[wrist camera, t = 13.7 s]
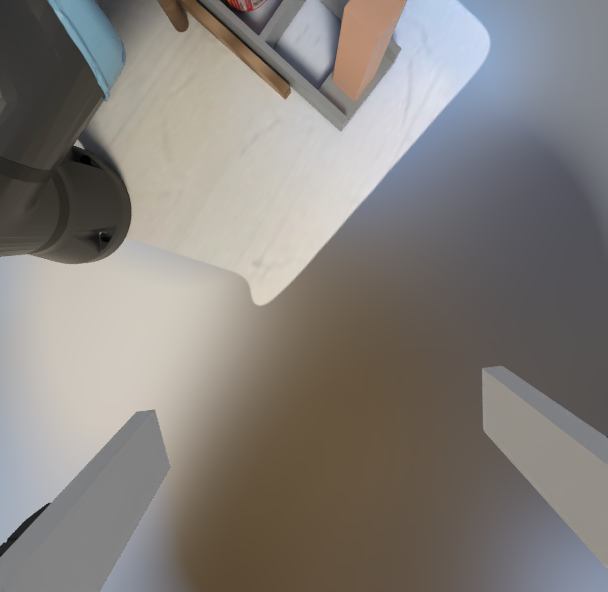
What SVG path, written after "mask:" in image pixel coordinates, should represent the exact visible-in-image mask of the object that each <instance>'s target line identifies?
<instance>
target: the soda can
mask: <svg viewBox="0 0 608 592" xmlns="http://www.w3.org/2000/svg"><path fill="white" fill-rule="evenodd" d="M224 1H225V2H226V3H227V4H228V5H229V6H230V7H232V8H234V9H236V10H239V11H244V12H245V11H252V10H255V9H257V8H259V7H260V6H262V5H263V4H264V3H265V1H266V0H224Z"/></svg>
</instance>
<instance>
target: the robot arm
mask: <svg viewBox="0 0 608 592" xmlns="http://www.w3.org/2000/svg"><path fill="white" fill-rule="evenodd" d="M125 61H126V54H125V49H124V45H123V43H122V41H121V38H120V36H119V34H118V33H117V31H116V29H115V28H114V26H113V25H112V23H111V22H110V20H109V19H108V18H107V16H106V15H105V13H104V12H103V11H102V9H101V8H100V7H99V5H98V4H97V3H96V1H95V0H0V257H1V256H11V255H21V254H30V255H33V256H37V257H41V258H44V259H48V260H52V261H55V262H60V263H66V264H81V263H89V262H95V261H98V260H101V259H103V258H105V257H107V256H109V255H111V254H112V253H113V252H114V251H116V250H117V249H118V247H119V246H120V245H121V244H122V242H123V241H124V239H125V237H126V235H127V233H128V230H129V226H130V221H131V206H130V200H129V196H128V193H127V190H126V188H125V186H124V184H123V182H122V180H121V178H120V177H119V175H118V174H117V173H116V172H115V170H114V169H113V168H112V167H111V166H110V165H109V164H108V163H107V162H106V161H104V160H103V159H102V158H100V157H99V156H97V155H95V154H94V153H92V152H89V151H87V150H84V149H82V148H79V147H76V146H73V145H74V143H75V142H76V140H77V139H78V137H79V136H80V135H81V133H82V132H83V130H84V129H85V127H86V126H87V124H88V123H89V121H90V120H91V118H92V117H93V116H94V114H95V113H96V111H97V110H98V108H99V107H100V105H101V104H102V102H103V101H104V100H105V101H107V100H108V99H109V97H110V92H109V91H110V90H111V88H112V86H113V85H114V83H115V81H116V80H117V78H118V76H119V75H120V73H121V71H122V70H123V68H124V65H125ZM482 386H483V430H484V432H486V434H487V435H488V436H489V437H490V438H491V439H492V441H493V442H494V443H495V444H496V445H497V446H498V447H499V448H500V449H501V451H502V452H503V453H504V454H505V455H506V456H507V457H508V458H509V459H510V461H511V462H512V463H513V464H514V465H515V466H516V467H517V468H518V469H519V470H520V471H521V473H522V474H523V475H524V476H525V477H526V478H527V480H528V481H529V482H530V483H531V484H532V485H533V486H534V487H535V488H536V489H537V491H538V492H539V493H540V494H541V495H542V496H543V497H544V499H545V500H546V501H547V502H548V503H549V504H550V505H551V506H552V507H553V509H554V510H555V511H556V512H557V513H558V514H559V515H560V516H561V517H562V519H563V520H564V521H565V522H566V523H567V524H568V525H569V526H570V528H571V529H572V530H573V531H574V532H575V533H576V534H577V535H578V536H579V538H580V539H581V540H582V541H583V542H584V543H585V544H586V545H587V546H588V547H589V549H590V550H591V551H592V552H593V553H594V554H595V555H596V557H597V558H598V559H599V560H600V561H601V562H602V563H603V564H604V565H605V567H606V568H607V569H608V437H605V436H604V435H603V434H601V433H600V432H598V431H597V430H595V429H594V428H592V427H590V426H589V425H588V424H586V423H585V422H583V421H582V420H580V419H579V418H577V417H576V416H575V415H573V414H572V413H570V412H569V411H567V410H566V409H564V408H563V407H561V406H560V405H558V404H557V403H556V402H554V401H553V400H551V399H550V398H548V397H547V396H545V395H544V394H542V393H541V392H540V391H538V390H537V389H535V388H534V387H532V386H531V385H529V384H528V383H526V382H525V381H523V380H522V379H520V378H519V377H517V376H516V375H514V374H513V373H511V372H510V371H509V370H507V369H506V368H504V367H503V366H497V367H489V368H482ZM169 469H170V464H169V460H168V457H167V453H166V449H165V445H164V442H163V438H162V434H161V431H160V427H159V423H158V419H157V416H156V412H155V410H148V411H140V412H136V413H135V414H134V415H133V416H132V417H131V418H130V419H129V420H128V421H127V423H126V424H125V425H124V426H123V427H122V428H121V429H120V430H119V431H118V432H117V433H116V434H115V435H114V437H113V438H112V439H111V440H110V441H109V442H108V443H107V444H106V445H105V446H104V447H103V448H102V449H101V450H100V452H98V454H97V455H96V456H95V457H94V458H93V459H92V460H91V461H90V462H89V463H88V464H87V465H86V466H85V467H84V469H83V470H82V471H81V472H80V473H79V474H78V475H77V476H76V477H75V478H74V479H73V480H72V482H70V484H69V485H68V486H67V487H66V488H65V489H64V490H63V491H62V492H61V493H60V494H59V495H58V497H56V498H55V500H54V501H53V502H52V503H48V504H46V505H45V506H44V507H42V508H41V509H40V510H38V511H37V512H36V513H34V514H33V515H32V516H30V517H29V518H28V519H26V520H25V521H24V522H23V523H22V524H21V526H20V527H19V528H18V529H17V530H16V531H15V532H14V533H13V534H12V535H11V536H10V537H9V538H8V539H7V542H6V543H3V544H2V545H1V546H0V592H100V590H101V589H102V587H103V585H104V583H105V581H106V580H107V578H108V576H109V574H110V573H111V571H112V569H113V567H114V566H115V564H116V562H117V560H118V559H119V557H120V555H121V553H122V551H123V550H124V548H125V546H126V545H127V543H128V541H129V539H130V538H131V536H132V534H133V532H134V531H135V529H136V527H137V525H138V524H139V522H140V520H141V518H142V517H143V515H144V513H145V511H146V510H147V508H148V506H149V504H150V503H151V501H152V499H153V497H154V496H155V494H156V492H157V490H158V489H159V487H160V485H161V483H162V482H163V480H164V478H165V476H166V475H167V472H168V471H169Z"/></svg>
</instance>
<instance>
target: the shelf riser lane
mask: <svg viewBox="0 0 608 592" xmlns="http://www.w3.org/2000/svg"><path fill="white" fill-rule="evenodd" d="M157 1H158V2H159V4H160V5H161V7H162V8H163V10H164V12H165V13H166V15H167V16H168V18H169V19H170V21H171V22H172V24H173V26H174V27H175V29H176V30H177V31H179V32H184V31H186V30H187V28H188V20H187V18H186V16H185V14H184V13H183V11H182V9H181V7H180V5H181V6H182V7H183V8H184V9H185V10H186V11H187V12H188V13H190V14H191V15H192V16H193V17H194V18H195V19H196V20H197V21H198V22H200V23H201V24H202V25H203V26H204V27H205V28H206V29H207V30H209V31H210V32H211V33H212V34H213V35H214V36H215V37H216V38H217V39H219V40H220V41H221V42H222V43H223V44H224V45H225V46H226V47H228V48H229V49H230V50H231V51H232V52H233V53H234V54H235V55H236V56H238V57H239V58H240V59H241V60H242V61H243V62H244V63H245V64H246V65H248V66H249V67H250V68H251V69H252V70H253V71H254V72H255V73H257V74H258V75H259V76H260V77H261V78H262V79H263V80H264V81H265V82H267V83H268V84H269V85H270V86H271V87H272V88H273V89H274V90H275V91H277V92H278V93H279V94H280V95H281V96H282V97H283V98H284V99H286V98H287V97H288V96H289V94H290V93H291V92H290V86H289V85H288V84H287V83H286V82H285V81H284V80H283V79H282V78H281V77H279V76H278V75H277V74H276V73H275V72H274V71H273V70H272V69H271V68H269V67H268V66H267V65H266V64H265V63H264V62H263V61H262V60H261V59H260V58H258V57H257V56H256V55H255V54H254V53H253V52H252V51H251V50H250V49H249V48H247V47H246V46H245V45H244V44H243V43H242V42H241V41H240V40H239V39H237V38H236V37H235V36H234V35H233V34H232V33H231V32H230V31H229V30H228V29H226V28H225V27H224V26H223V25H222V24H221V23H220V22H219V21H218V20H216V19H215V18H214V17H213V16H212V15H211V14H210V13H209V12H208V11H207V10H205V9H204V8H203V7H202V6H201V5H200V4H199V3H198V2H197V1H195V0H157ZM179 4H180V5H179Z"/></svg>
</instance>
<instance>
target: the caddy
mask: <svg viewBox="0 0 608 592" xmlns="http://www.w3.org/2000/svg"><path fill="white" fill-rule="evenodd" d="M196 1H197V2H198V3H200V4H201V5H202V6H203V7H204V8H205V9H206V10H207V11H208V12H209V13H211V14H212V15H213V16H214V17H215V18H216V19H217V20H218V21H219V22H220V23H222V24H223V25H224V26H225V27H226V28H227V29H228V30H229V31H230V32H232V33H233V34H234V35H235V36H236V37H237V38H238V39H239V40H240V41H241V42H243V43H244V44H245V45H246V46H247V47H248V48H249V49H250V50H251V51H253V52H254V53H255V54H256V55H257V56H258V57H259V58H260V59H261V60H262V61H264V62H265V63H266V64H267V65H268V66H269V67H270V68H271V69H272V70H274V71H275V72H276V73H277V74H278V75H279V76H280V77H281V78H282V79H283V80H285V81H286V82H287V83H288V84H289V85H290V86H291V87H292V88H293V89H294V90H296V91H297V92H298V93H299V94H300V95H301V96H302V97H303V98H304V99H306V100H307V101H308V102H309V103H310V104H311V105H312V106H313V107H314V108H315V109H317V110H318V111H319V112H320V113H321V114H322V115H323V116H324V117H325V118H327V119H328V120H329V121H330V122H331V123H332V124H333V125H334V126H335V127H336V128H338V129H339V130H340V131H342V130H343V128H344V127H345V126H346V124H347V123H348V122H349V121H350V119H351V118H352V117H353V115H354V114H355V113H356V112H357V110H358V109H359V108H360V106H361V105H362V104H363V102H364V101H365V100H366V99H367V97H368V96H369V95H370V93H371V92H372V91H373V90H374V88H375V87H376V86H377V84H378V83H379V82H380V80H381V79H382V78H383V77H384V75H385V74H386V73H387V71H388V70H389V69H390V68H391V66H392V65H393V64H394V62H395V60H396V58H397V56H398V55H399V53H400V51H401V48H400V47H399V46H398V45H397V44H396V43H395V42H394V41H393V40H392V39H391V37H392V35H393V32H394V30H395V28H396V25H397V23H398V21H399V18H400V16H401V14H402V11H403V9H404V7H405V4H406V2H407V0H320V1H321V2H322V3H323V4H324V5H325V6H326V7H327V8H328V9H329V10H330V11H331V12H332V13H333V14H334V15H335V16H336V17H338V18H339V19H340V20H341V21H342V25H341V31H340V37H339V43H338V49H337V55H336V61H335V68H334V69H333V71H332V72H331V73H330V75H329V76H328V77H327V79H326V80H325V82H324V83H323V84H322V86H321V87H320V88H319V90H317V89H316V88H315V87H314V86H313V85H311V84H310V83H309V82H308V81H307V80H306V79H305V78H304V77H303V76H302V75H300V74H299V73H298V72H297V71H296V70H295V69H294V68H293V67H292V66H291V65H290V64H288V63H287V62H286V61H285V60H284V59H283V58H282V57H281V56H280V55H279V54H278V53H276V52H275V51H274V50H273V49H272V48H273V47H274V46H275V44H276V43H277V41H278V40H279V38H280V37H281V35H282V34H283V33H284V31H285V30H286V28H287V27H288V25H289V24H290V22H291V21H292V20H293V18H294V17H295V15H296V14H297V12H298V11H299V9H300V8H301V7H302V5H303V4H304V2H305V1H306V0H283V1H282V3H281V4H280V6H279V7H278V9H277V10H276V12H275V13H274V14H273V16H272V17H271V19H270V20H269V22H268V23H267V25H266V26H265V28H264V29H263V31H262V32H261V34H260V35H259V36H258V35H257V34H256V33H255V32H254V31H252V30H251V29H250V28H249V27H248V26H247V25H246V24H245V23H244V22H243V21H242V20H240V19H239V18H238V17H237V16H236V15H235V14H234V13H233V12H232V11H231V10H230V9H228V8H227V7H226V6H225V5H224V4H223V3H222V2H221V1H220V0H196Z"/></svg>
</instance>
